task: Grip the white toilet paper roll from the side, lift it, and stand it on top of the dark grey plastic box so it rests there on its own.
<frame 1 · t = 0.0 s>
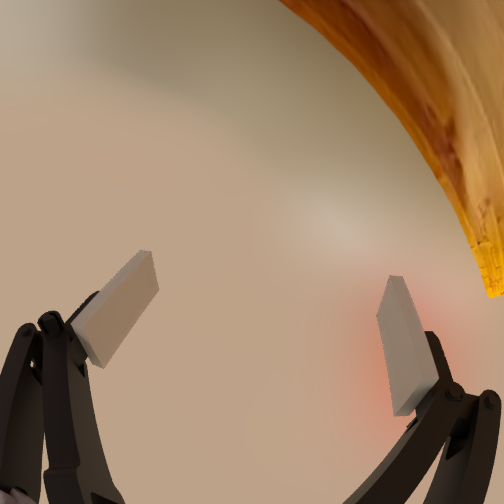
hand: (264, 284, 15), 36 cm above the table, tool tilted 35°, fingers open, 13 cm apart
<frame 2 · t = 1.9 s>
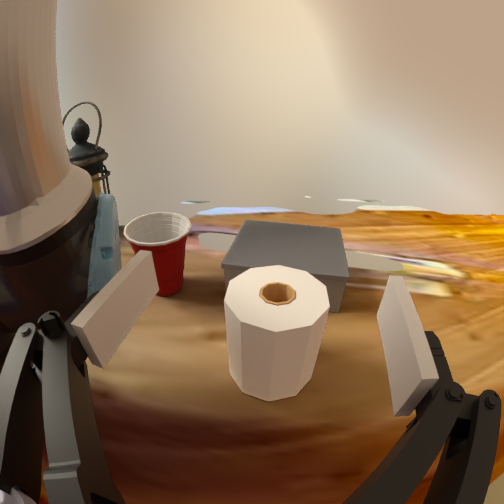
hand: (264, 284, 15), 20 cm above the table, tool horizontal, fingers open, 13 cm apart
plastic cup: (167, 287, 47), on the table
toilet paper: (271, 368, 33), on the table
grey box: (286, 278, 50), on the table
lantern: (97, 235, 66), on the table
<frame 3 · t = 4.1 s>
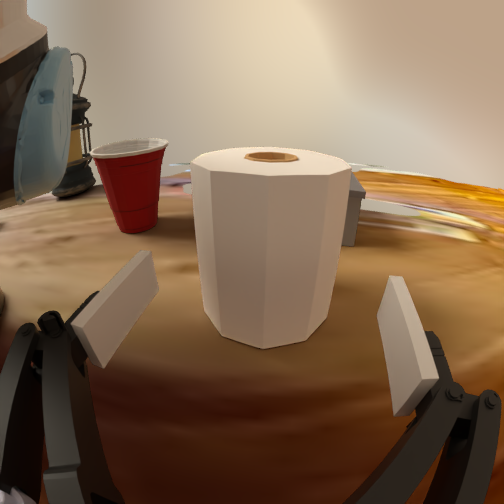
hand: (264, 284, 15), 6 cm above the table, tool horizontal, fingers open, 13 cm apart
plastic cup: (139, 226, 38), on the table
toilet paper: (266, 305, 23), on the table
grey box: (285, 215, 40), on the table
lantern: (75, 193, 56), on the table
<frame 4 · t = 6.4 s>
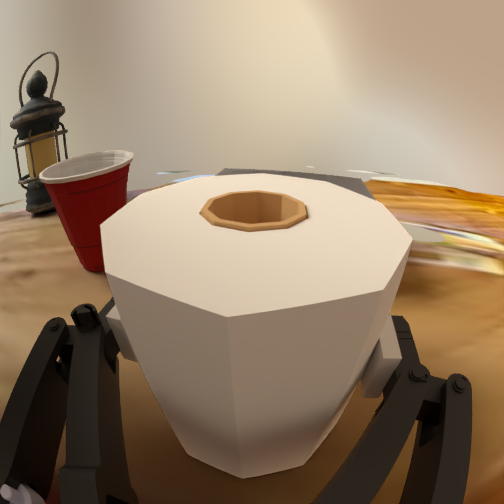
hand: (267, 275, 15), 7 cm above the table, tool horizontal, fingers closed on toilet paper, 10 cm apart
plastic cup: (105, 261, 29), on the table
toilet paper: (252, 403, 15), on the table, touching gripper
grey box: (284, 247, 32), on the table
lantern: (51, 208, 48), on the table
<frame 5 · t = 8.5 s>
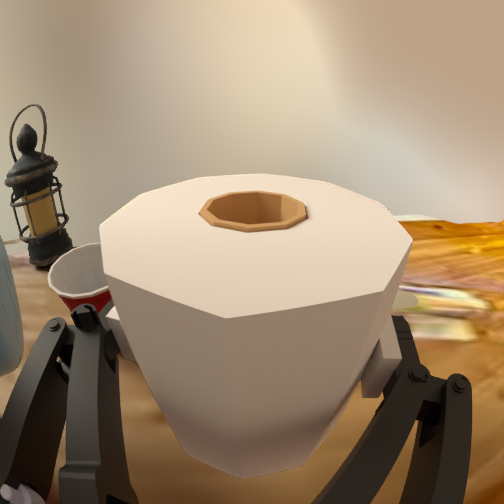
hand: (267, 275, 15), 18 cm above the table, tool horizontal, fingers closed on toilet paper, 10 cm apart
plastic cup: (114, 338, 34), on the table
toilet paper: (252, 404, 15), point 11 cm above the table, touching gripper
lantern: (53, 258, 52), on the table
when the fingers open (15 cm above the table, at t = 10.8 s): toilet paper drops 1 cm, resting on grey box.
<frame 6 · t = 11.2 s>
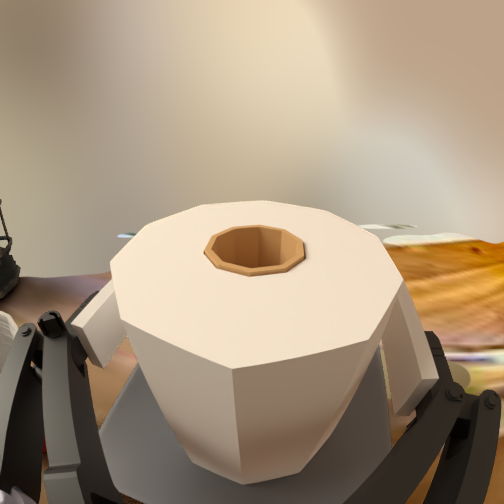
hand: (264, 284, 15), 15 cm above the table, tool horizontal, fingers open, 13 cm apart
plastic cup: (41, 432, 17), on the table
toilet paper: (252, 414, 16), point 7 cm above the table, touching grey box
grey box: (251, 446, 19), on the table
lantern: (0, 291, 35), on the table
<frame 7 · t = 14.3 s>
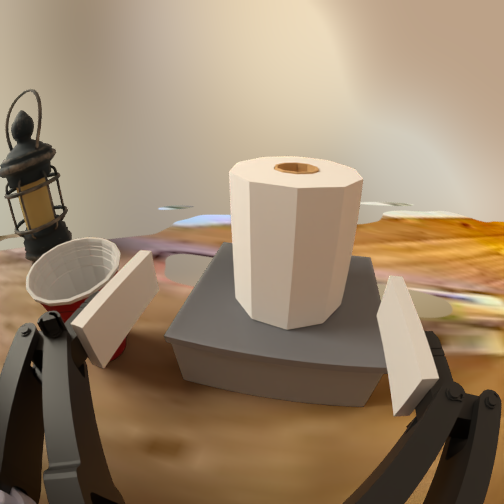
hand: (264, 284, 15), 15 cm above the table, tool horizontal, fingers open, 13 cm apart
plastic cup: (106, 347, 29), on the table
toilet paper: (288, 293, 27), point 7 cm above the table, touching grey box
grey box: (284, 339, 30), on the table
lantern: (51, 253, 48), on the table
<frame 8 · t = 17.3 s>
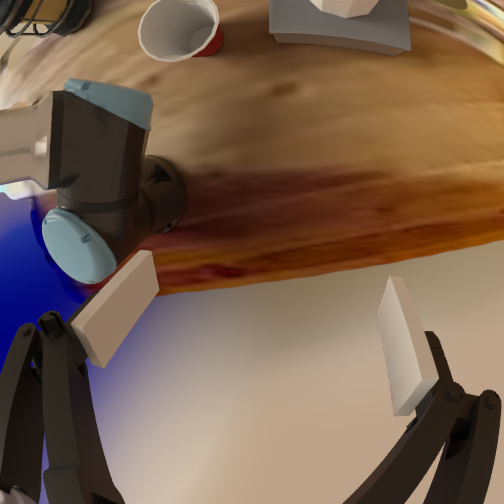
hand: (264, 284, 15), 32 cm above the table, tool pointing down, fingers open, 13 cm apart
plastic cup: (207, 41, 34), on the table
grey box: (335, 4, 27), on the table
lantern: (78, 13, 31), on the table
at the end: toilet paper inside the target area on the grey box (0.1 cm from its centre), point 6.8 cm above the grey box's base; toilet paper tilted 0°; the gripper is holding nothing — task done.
